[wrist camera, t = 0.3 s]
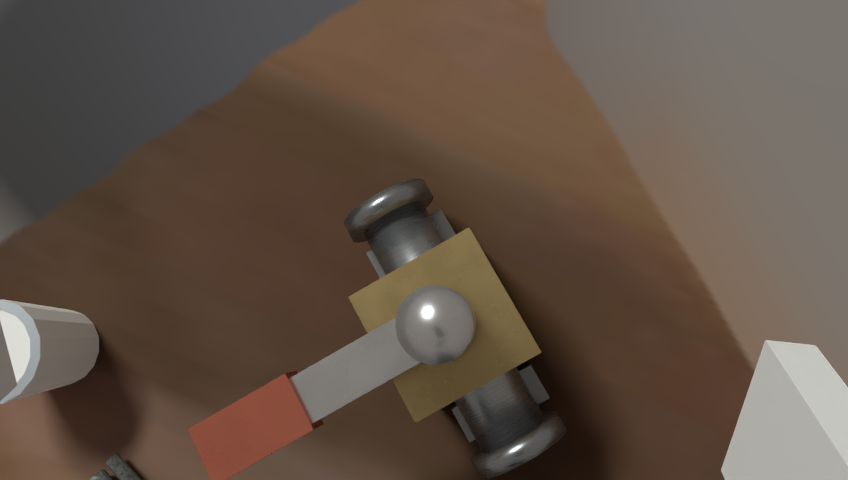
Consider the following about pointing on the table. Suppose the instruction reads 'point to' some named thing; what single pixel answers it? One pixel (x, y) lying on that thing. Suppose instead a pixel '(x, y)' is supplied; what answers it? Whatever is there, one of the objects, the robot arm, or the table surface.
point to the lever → (335, 381)
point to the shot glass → (46, 346)
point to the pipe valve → (494, 336)
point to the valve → (116, 470)
